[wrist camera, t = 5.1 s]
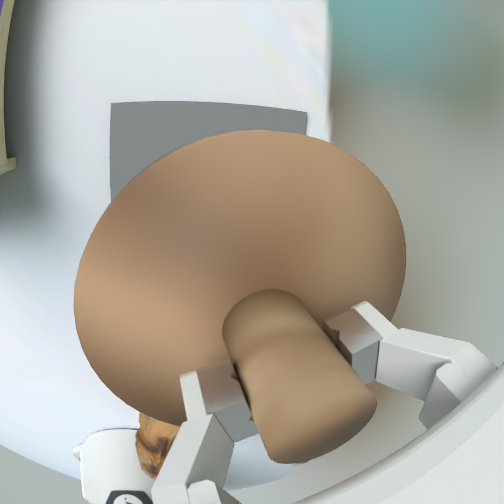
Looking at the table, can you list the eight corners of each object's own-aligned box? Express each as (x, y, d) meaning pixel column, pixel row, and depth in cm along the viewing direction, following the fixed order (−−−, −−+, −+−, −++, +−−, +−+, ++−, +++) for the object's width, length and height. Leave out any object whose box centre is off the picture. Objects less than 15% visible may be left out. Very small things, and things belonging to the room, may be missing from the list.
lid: (251, 434, 14) (286, 517, 9) (28, 333, 8) (-12, 458, 4) (422, 275, 13) (503, 335, 8) (260, 48, 7) (389, -17, 2)
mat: (283, 276, 27) (285, 278, 26) (120, 285, 23) (119, 287, 22) (304, 112, 21) (307, 112, 21) (112, 103, 17) (111, 103, 17)
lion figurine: (168, 425, 32) (178, 486, 24) (127, 417, 30) (130, 481, 22) (218, 346, 28) (241, 421, 20) (166, 333, 26) (175, 413, 18)
